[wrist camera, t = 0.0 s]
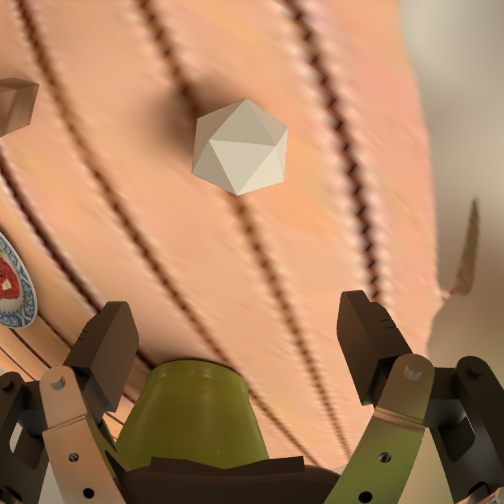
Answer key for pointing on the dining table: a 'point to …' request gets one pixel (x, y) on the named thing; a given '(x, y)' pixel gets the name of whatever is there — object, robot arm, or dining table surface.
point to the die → (240, 148)
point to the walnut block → (16, 104)
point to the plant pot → (192, 418)
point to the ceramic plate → (15, 289)
